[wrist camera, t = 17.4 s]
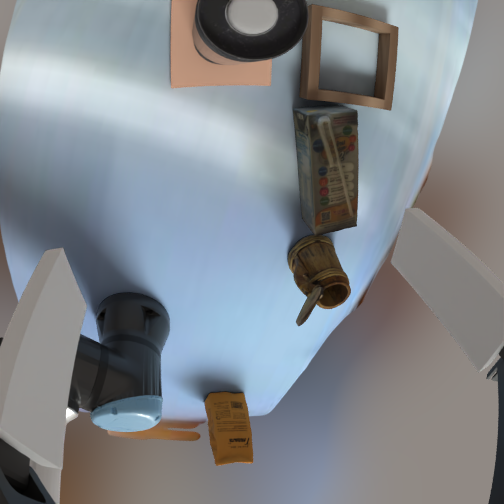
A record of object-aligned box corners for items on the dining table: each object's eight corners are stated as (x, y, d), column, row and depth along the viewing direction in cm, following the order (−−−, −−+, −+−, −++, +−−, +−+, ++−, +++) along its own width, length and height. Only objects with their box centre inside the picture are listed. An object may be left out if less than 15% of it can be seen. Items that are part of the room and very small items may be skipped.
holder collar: (299, 97, 37) (307, 99, 35) (303, 7, 29) (311, 4, 27) (380, 106, 40) (391, 110, 37) (387, 27, 31) (398, 27, 29)
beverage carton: (340, 102, 39) (363, 109, 33) (342, 210, 50) (360, 230, 45) (290, 106, 38) (307, 114, 33) (300, 219, 50) (314, 241, 44)
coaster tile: (171, 87, 33) (171, 88, 32) (172, 0, 26) (171, -2, 25) (268, 85, 36) (270, 85, 35) (271, 0, 28) (273, -1, 27)
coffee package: (238, 405, 85) (251, 466, 68) (200, 404, 81) (209, 469, 63) (249, 391, 81) (265, 457, 63) (209, 389, 76) (220, 460, 59)
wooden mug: (281, 219, 49) (322, 294, 34) (341, 242, 54) (389, 309, 40) (257, 261, 53) (285, 341, 38) (317, 277, 58) (354, 348, 44)
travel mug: (237, 74, 33) (283, 80, 17) (182, 55, 30) (174, 39, 14) (261, 26, 29) (328, -5, 14) (206, 6, 27) (225, -51, 11)
